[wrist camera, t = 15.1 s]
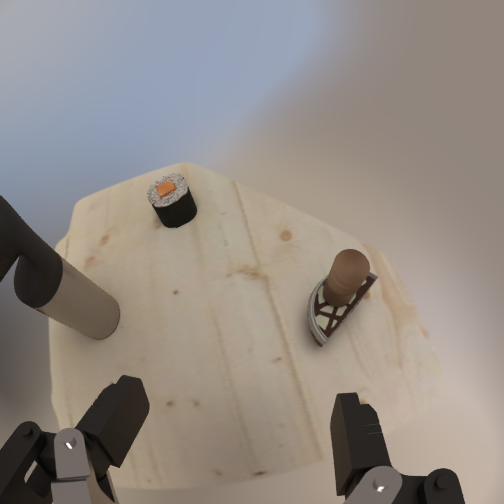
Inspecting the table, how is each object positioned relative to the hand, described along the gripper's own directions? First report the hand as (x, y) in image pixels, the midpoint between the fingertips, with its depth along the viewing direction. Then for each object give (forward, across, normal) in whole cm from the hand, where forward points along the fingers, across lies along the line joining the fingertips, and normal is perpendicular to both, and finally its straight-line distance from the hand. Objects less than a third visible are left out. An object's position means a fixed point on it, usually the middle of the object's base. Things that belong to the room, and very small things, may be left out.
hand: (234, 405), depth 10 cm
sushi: (+48, +20, -1) cm, 52 cm away
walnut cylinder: (+26, -9, +6) cm, 28 cm away
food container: (+33, -9, +14) cm, 37 cm away
